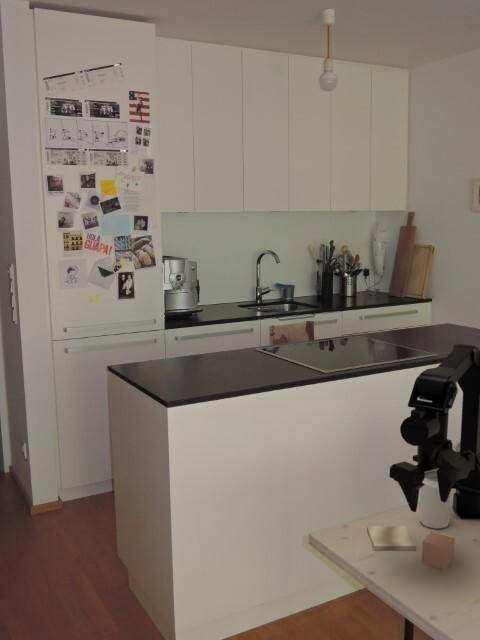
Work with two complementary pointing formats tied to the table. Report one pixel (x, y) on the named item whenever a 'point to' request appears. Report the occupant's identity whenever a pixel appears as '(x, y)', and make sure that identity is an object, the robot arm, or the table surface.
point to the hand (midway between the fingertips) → (428, 506)
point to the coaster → (390, 538)
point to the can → (433, 504)
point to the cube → (438, 550)
